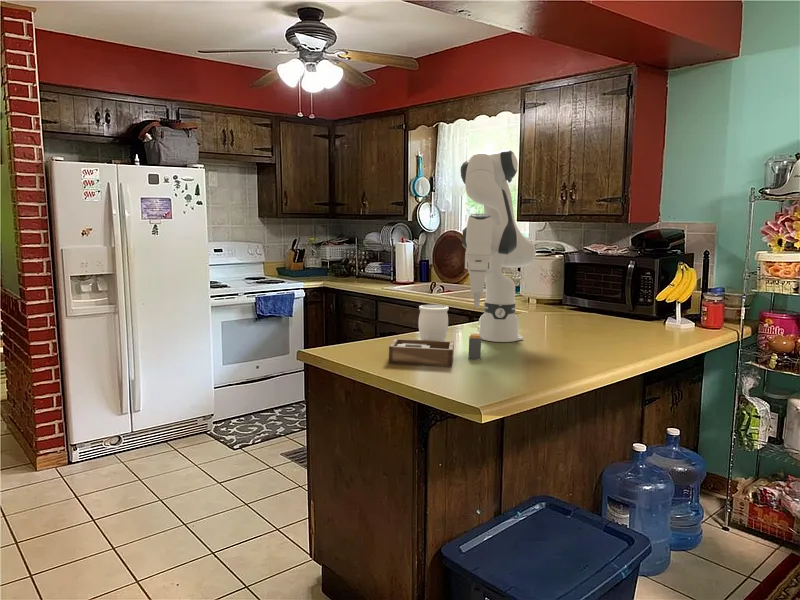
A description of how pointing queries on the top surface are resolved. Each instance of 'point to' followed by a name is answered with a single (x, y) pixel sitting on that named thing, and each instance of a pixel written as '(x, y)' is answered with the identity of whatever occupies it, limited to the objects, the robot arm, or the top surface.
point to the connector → (474, 346)
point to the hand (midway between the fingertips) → (476, 305)
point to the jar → (433, 322)
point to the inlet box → (421, 352)
